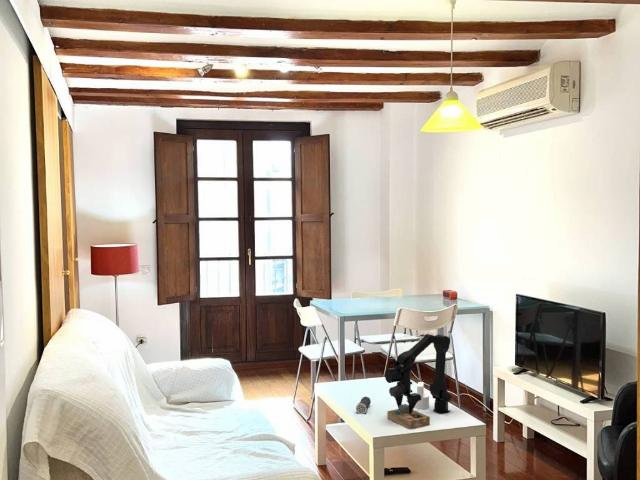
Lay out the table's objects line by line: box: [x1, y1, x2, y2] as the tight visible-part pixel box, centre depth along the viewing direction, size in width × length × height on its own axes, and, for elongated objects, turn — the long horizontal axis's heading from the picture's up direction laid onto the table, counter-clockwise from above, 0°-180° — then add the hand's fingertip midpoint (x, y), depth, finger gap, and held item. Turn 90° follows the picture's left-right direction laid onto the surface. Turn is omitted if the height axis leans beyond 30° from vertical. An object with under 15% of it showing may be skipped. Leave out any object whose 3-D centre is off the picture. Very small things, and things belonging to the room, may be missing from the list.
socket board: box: [387, 408, 431, 430], centre depth 320 cm, size 12×18×5 cm, turn 31°
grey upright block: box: [398, 403, 409, 414], centre depth 324 cm, size 4×4×7 cm
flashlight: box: [355, 396, 372, 415], centre depth 340 cm, size 15×5×5 cm, turn 166°
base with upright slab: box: [414, 381, 430, 410], centre depth 344 cm, size 9×9×12 cm
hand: (404, 410), depth 324 cm, fingers open, 8 cm apart
